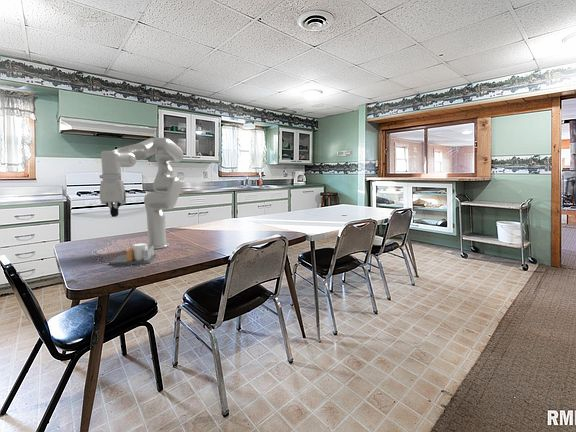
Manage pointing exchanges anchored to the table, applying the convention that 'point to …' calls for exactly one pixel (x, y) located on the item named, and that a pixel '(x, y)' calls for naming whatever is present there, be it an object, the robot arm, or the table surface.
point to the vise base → (122, 259)
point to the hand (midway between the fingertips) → (114, 216)
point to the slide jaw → (130, 254)
